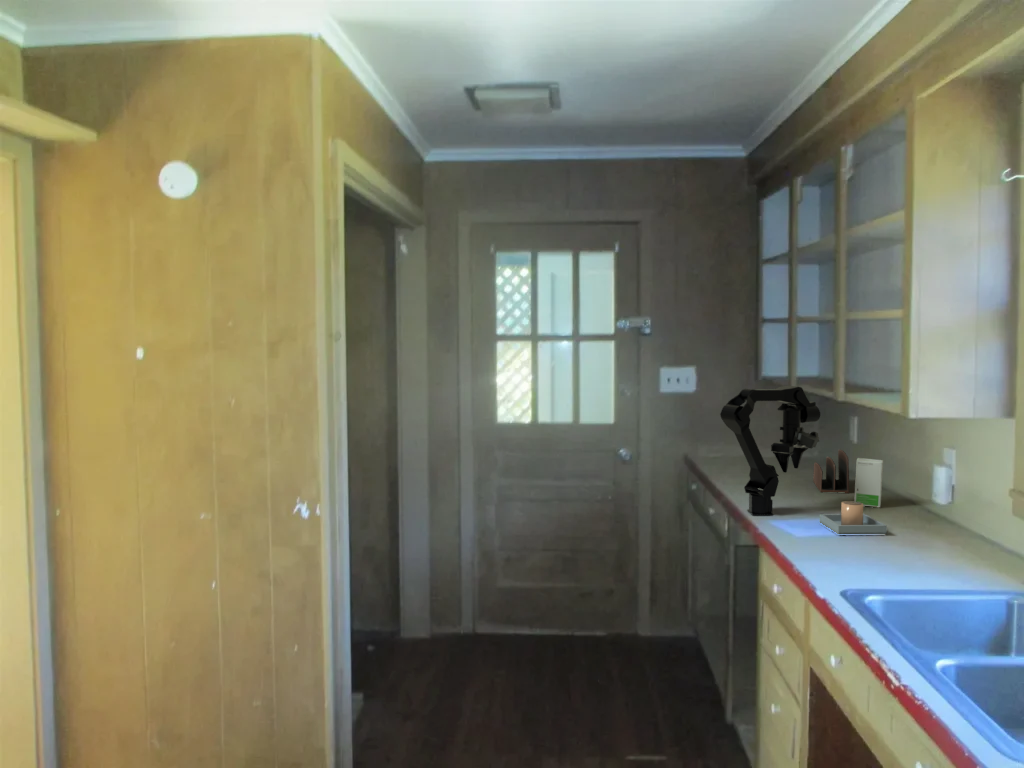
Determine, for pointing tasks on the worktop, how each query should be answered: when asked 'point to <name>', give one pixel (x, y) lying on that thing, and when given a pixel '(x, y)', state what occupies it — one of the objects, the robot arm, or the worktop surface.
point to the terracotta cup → (851, 513)
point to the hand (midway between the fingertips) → (790, 470)
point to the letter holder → (833, 475)
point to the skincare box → (868, 481)
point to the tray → (867, 528)
